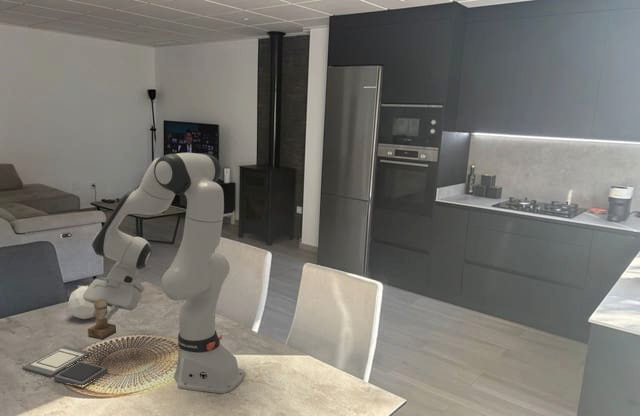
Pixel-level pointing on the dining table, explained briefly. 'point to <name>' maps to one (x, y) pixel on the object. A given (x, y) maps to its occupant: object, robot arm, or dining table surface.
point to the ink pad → (80, 373)
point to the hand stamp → (101, 322)
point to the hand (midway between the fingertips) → (100, 317)
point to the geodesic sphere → (80, 304)
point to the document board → (56, 361)
